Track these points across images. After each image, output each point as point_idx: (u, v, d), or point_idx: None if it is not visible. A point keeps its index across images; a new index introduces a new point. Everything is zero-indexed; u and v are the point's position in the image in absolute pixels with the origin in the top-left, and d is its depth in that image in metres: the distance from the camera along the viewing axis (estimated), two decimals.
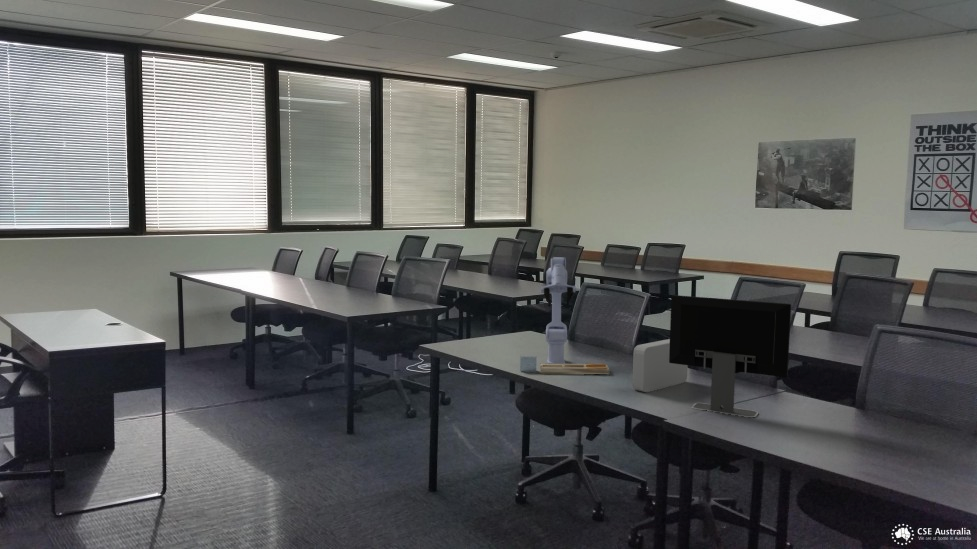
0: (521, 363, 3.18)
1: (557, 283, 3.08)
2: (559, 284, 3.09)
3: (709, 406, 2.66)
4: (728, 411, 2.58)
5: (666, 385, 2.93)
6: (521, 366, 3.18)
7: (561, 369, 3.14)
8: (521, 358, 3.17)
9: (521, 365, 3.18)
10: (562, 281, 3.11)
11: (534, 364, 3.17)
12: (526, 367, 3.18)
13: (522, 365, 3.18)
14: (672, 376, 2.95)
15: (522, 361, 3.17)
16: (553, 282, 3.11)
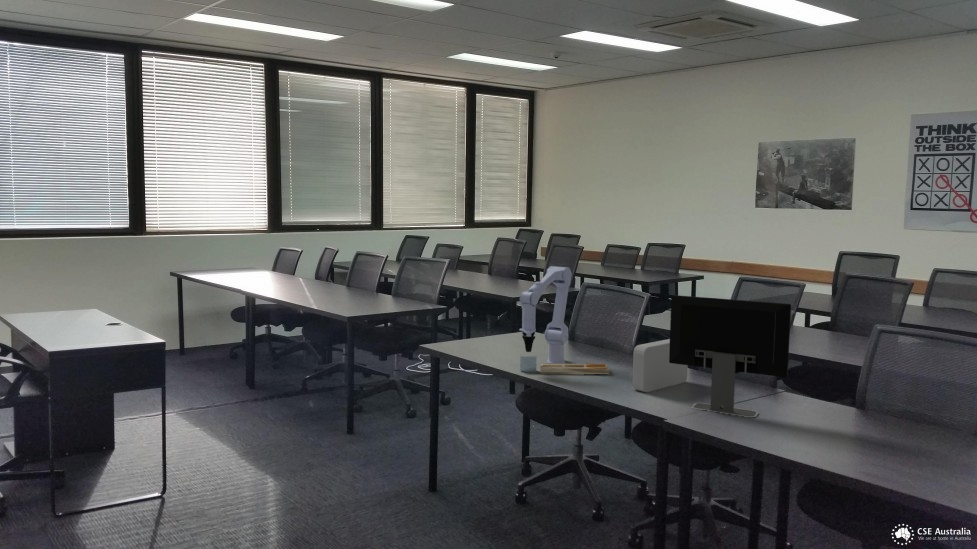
0: (521, 363, 3.18)
1: None
2: (521, 330, 3.17)
3: (709, 406, 2.66)
4: (728, 411, 2.58)
5: (666, 385, 2.93)
6: (521, 366, 3.18)
7: (561, 369, 3.14)
8: (521, 358, 3.17)
9: (521, 365, 3.18)
10: (523, 326, 3.15)
11: (534, 364, 3.17)
12: (526, 367, 3.18)
13: (522, 365, 3.18)
14: (672, 376, 2.95)
15: (522, 361, 3.17)
16: None
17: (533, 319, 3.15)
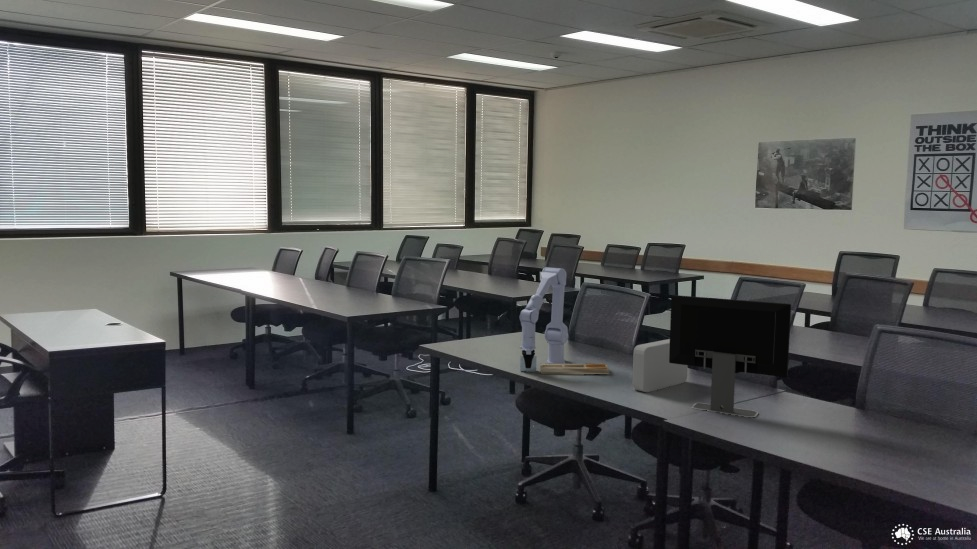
0: (521, 363, 3.18)
1: None
2: None
3: (709, 406, 2.66)
4: (728, 411, 2.58)
5: (666, 385, 2.93)
6: (521, 366, 3.18)
7: (561, 369, 3.14)
8: (521, 358, 3.17)
9: (521, 365, 3.18)
10: (523, 343, 3.16)
11: (534, 364, 3.17)
12: None
13: (522, 365, 3.18)
14: (672, 376, 2.95)
15: (522, 361, 3.17)
16: None
17: (533, 337, 3.15)
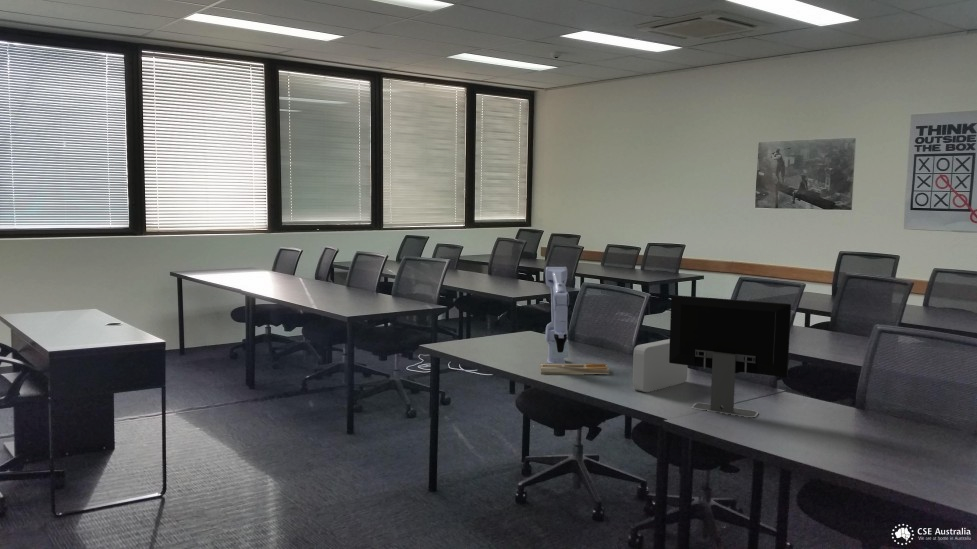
0: (553, 349, 3.16)
1: None
2: (553, 332, 3.16)
3: (709, 406, 2.66)
4: (728, 411, 2.58)
5: (666, 385, 2.93)
6: (553, 352, 3.17)
7: (561, 369, 3.14)
8: (553, 344, 3.16)
9: (553, 351, 3.16)
10: (555, 327, 3.15)
11: (565, 350, 3.16)
12: (558, 353, 3.16)
13: (554, 351, 3.16)
14: (672, 376, 2.95)
15: (554, 347, 3.16)
16: None
17: (565, 321, 3.14)
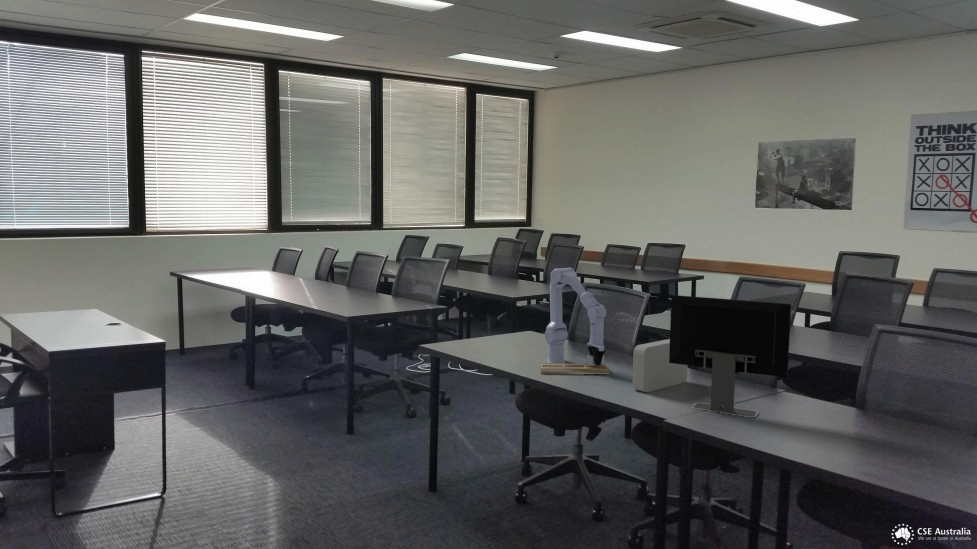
0: (589, 362, 3.16)
1: None
2: None
3: (709, 406, 2.66)
4: (728, 411, 2.58)
5: (666, 385, 2.93)
6: (589, 365, 3.16)
7: (561, 369, 3.14)
8: (589, 357, 3.16)
9: (589, 364, 3.16)
10: (593, 340, 3.14)
11: (602, 363, 3.17)
12: (594, 366, 3.16)
13: (591, 364, 3.16)
14: (672, 376, 2.95)
15: (590, 360, 3.16)
16: None
17: (602, 333, 3.14)
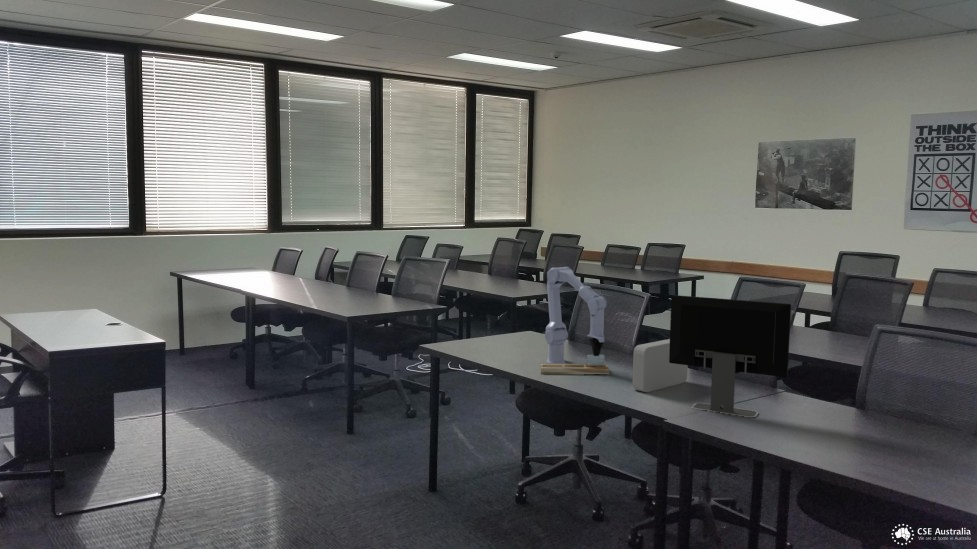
0: (589, 362, 3.16)
1: None
2: (590, 336, 3.15)
3: (709, 406, 2.66)
4: (728, 411, 2.58)
5: (666, 385, 2.93)
6: (589, 365, 3.16)
7: (561, 369, 3.14)
8: (589, 357, 3.16)
9: (589, 364, 3.16)
10: (593, 332, 3.14)
11: (602, 363, 3.17)
12: (594, 366, 3.16)
13: (591, 364, 3.16)
14: (672, 376, 2.95)
15: (590, 360, 3.16)
16: None
17: (602, 324, 3.14)
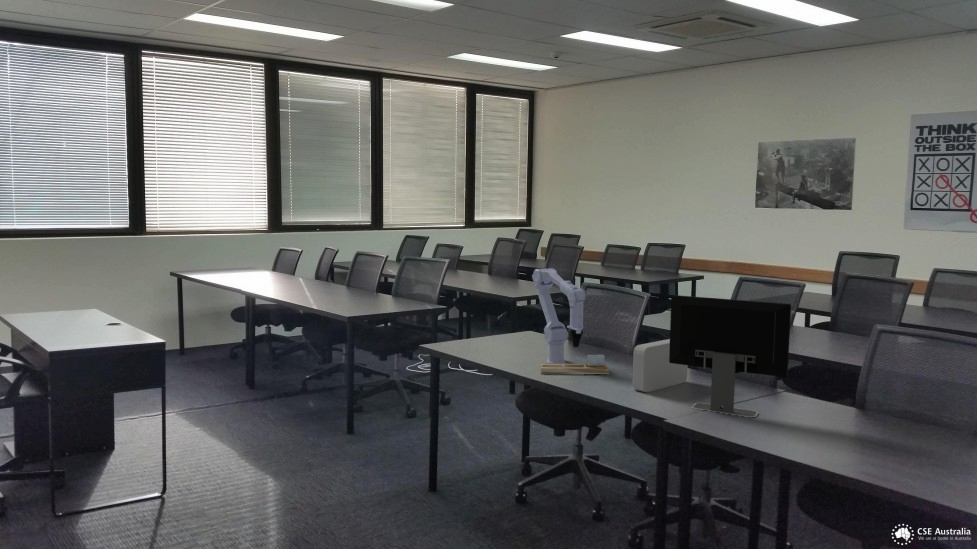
0: (589, 362, 3.16)
1: None
2: None
3: (709, 406, 2.66)
4: (728, 411, 2.58)
5: (666, 385, 2.93)
6: (589, 365, 3.16)
7: (561, 369, 3.14)
8: (589, 357, 3.16)
9: (589, 364, 3.16)
10: (572, 323, 3.20)
11: (602, 363, 3.17)
12: (594, 366, 3.16)
13: (591, 364, 3.16)
14: (672, 376, 2.95)
15: (590, 360, 3.16)
16: None
17: (581, 316, 3.20)
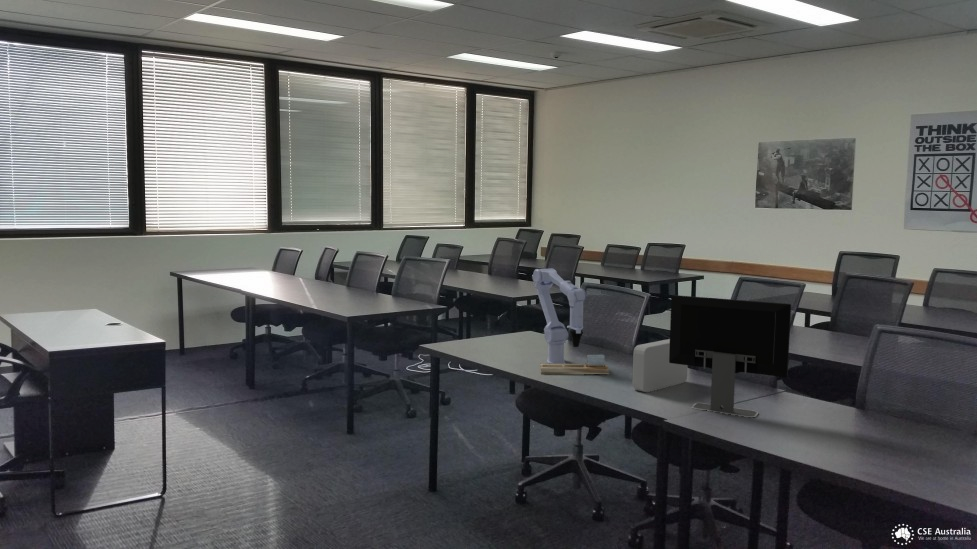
0: (589, 362, 3.16)
1: None
2: (569, 327, 3.22)
3: (709, 406, 2.66)
4: (728, 411, 2.58)
5: (666, 385, 2.93)
6: (589, 365, 3.16)
7: (561, 369, 3.14)
8: (589, 357, 3.16)
9: (589, 364, 3.16)
10: (572, 323, 3.20)
11: (602, 363, 3.17)
12: (594, 366, 3.16)
13: (591, 364, 3.16)
14: (672, 376, 2.95)
15: (590, 360, 3.16)
16: None
17: (581, 316, 3.20)
